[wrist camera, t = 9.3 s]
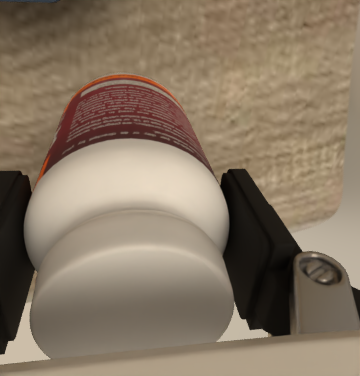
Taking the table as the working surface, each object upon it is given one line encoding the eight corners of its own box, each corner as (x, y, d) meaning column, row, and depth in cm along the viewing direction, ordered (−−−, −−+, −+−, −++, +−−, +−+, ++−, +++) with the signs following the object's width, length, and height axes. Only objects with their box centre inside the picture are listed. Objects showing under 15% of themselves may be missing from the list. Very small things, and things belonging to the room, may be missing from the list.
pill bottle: (40, 85, 15) (-83, 258, 6) (174, 56, 15) (264, 177, 6) (85, 196, 18) (54, 416, 9) (194, 171, 19) (269, 360, 9)
